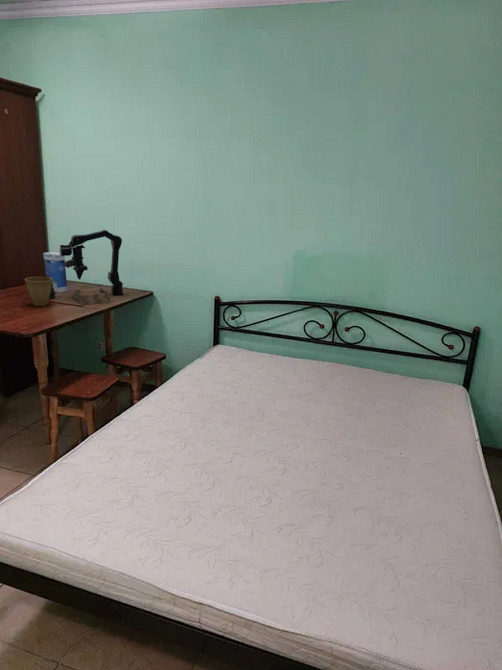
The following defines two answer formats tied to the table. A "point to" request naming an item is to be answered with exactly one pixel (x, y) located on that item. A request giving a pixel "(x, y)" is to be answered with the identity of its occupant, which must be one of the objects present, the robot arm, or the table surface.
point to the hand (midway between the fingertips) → (79, 279)
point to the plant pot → (39, 289)
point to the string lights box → (56, 270)
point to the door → (90, 291)
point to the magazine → (52, 293)
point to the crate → (92, 297)
